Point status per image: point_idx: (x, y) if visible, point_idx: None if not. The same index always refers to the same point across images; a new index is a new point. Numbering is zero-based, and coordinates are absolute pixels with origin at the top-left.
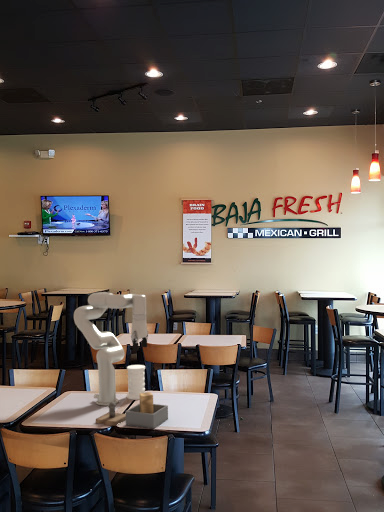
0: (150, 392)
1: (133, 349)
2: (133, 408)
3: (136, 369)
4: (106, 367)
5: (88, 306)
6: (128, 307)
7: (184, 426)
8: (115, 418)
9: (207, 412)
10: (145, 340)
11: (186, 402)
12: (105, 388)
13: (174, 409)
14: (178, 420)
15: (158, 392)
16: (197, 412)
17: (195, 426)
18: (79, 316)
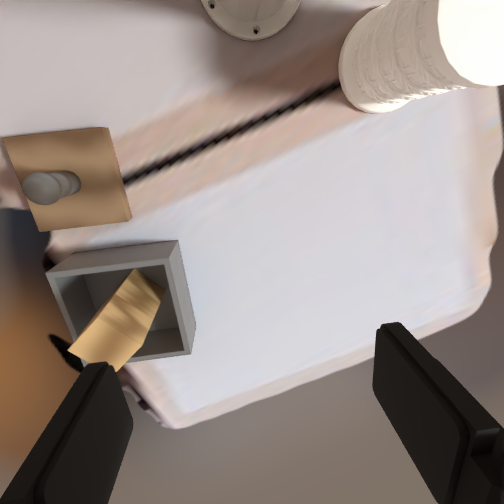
0: (136, 348)
1: (89, 377)
2: (99, 271)
3: (440, 53)
4: None
5: None
6: None
7: (171, 384)
8: (63, 206)
9: (298, 377)
10: (444, 494)
11: (368, 287)
12: None
13: (286, 293)
14: (203, 351)
15: (470, 119)
16: (288, 358)
17: (186, 402)
18: None
